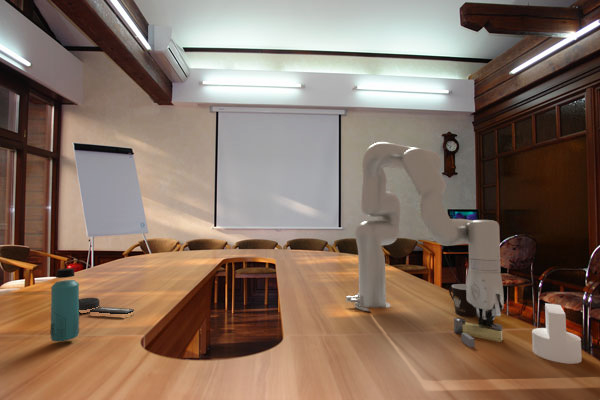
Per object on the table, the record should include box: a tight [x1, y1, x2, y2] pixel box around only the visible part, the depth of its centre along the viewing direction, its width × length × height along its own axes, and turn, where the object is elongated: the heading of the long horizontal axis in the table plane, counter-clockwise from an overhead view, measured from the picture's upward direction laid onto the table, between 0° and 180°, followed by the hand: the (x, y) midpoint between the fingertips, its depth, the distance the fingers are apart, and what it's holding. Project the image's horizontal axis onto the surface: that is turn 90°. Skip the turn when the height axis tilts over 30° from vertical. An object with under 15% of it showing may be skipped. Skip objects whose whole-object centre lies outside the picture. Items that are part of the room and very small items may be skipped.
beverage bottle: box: [49, 267, 81, 342], centre depth 91 cm, size 6×7×20 cm
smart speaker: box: [79, 297, 100, 310], centre depth 120 cm, size 9×9×4 cm
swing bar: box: [453, 317, 503, 343], centre depth 89 cm, size 12×3×4 cm, turn 50°
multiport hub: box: [90, 306, 135, 314], centre depth 115 cm, size 4×14×2 cm, turn 77°
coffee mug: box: [448, 283, 478, 318], centre depth 110 cm, size 12×9×10 cm
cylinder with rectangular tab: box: [531, 302, 582, 365], centre depth 77 cm, size 9×9×12 cm
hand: (486, 332), depth 90 cm, fingers closed
